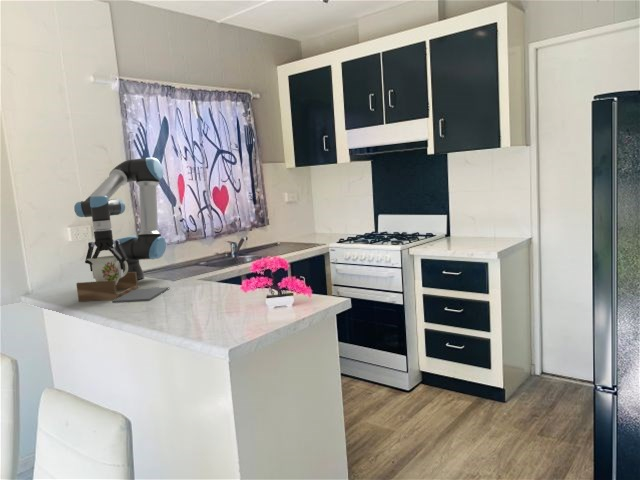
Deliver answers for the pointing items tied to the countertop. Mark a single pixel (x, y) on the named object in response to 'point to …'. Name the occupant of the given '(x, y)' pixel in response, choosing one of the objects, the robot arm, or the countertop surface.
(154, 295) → the rubber mat
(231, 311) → the countertop surface
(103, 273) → the pitcher
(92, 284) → the walnut cradle
